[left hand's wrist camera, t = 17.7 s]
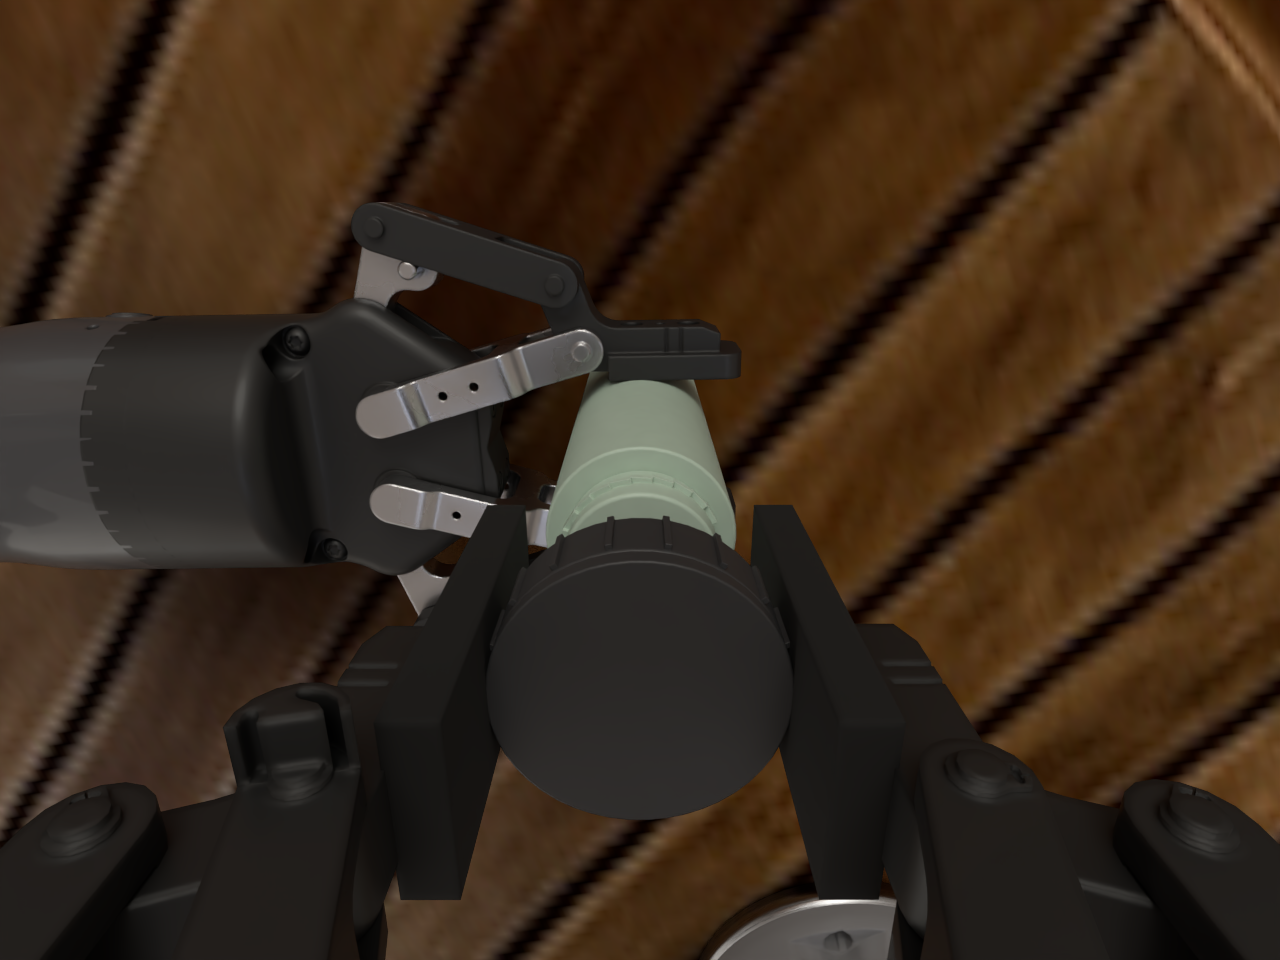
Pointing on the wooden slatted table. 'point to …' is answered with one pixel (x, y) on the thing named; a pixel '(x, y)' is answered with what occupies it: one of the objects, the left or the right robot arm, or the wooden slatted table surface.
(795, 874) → the wooden slatted table surface
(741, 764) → the lid
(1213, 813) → the left robot arm
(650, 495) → the bottle
